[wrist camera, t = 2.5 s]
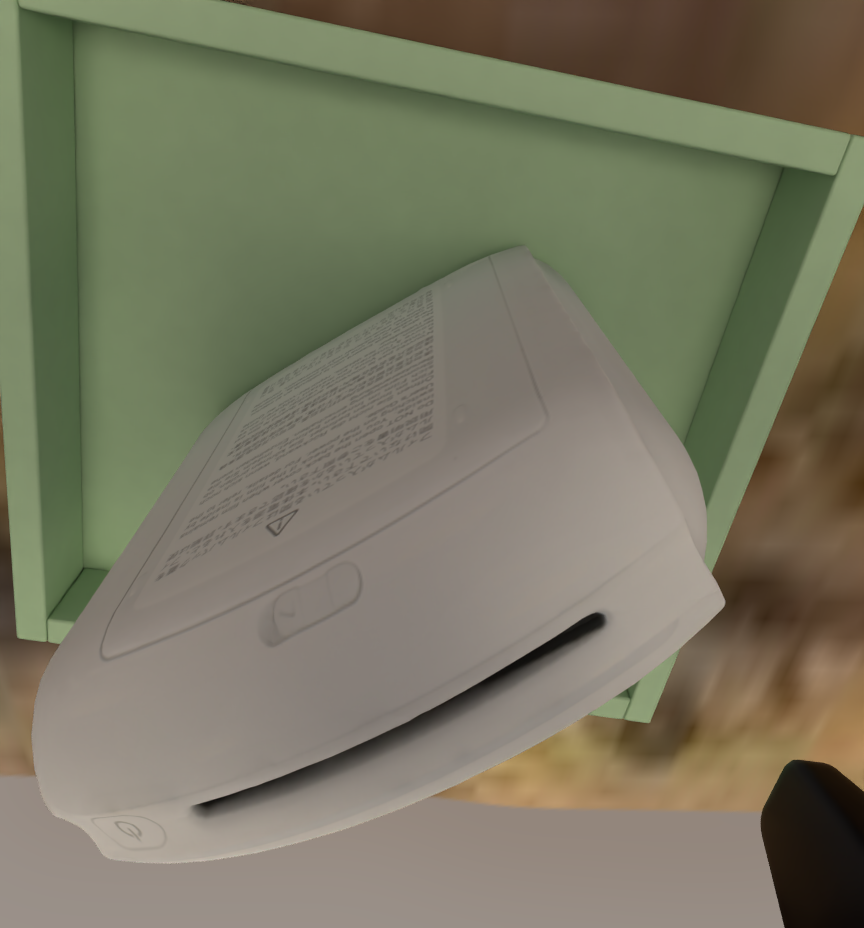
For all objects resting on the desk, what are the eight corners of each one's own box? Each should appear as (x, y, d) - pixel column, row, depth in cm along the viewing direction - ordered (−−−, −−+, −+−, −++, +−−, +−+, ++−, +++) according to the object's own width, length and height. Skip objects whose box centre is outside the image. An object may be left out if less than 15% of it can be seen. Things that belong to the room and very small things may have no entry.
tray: (821, 136, 17) (890, 142, 15) (625, 657, 24) (650, 724, 22) (42, -29, 16) (-33, -54, 13) (62, 576, 23) (15, 639, 20)
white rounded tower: (279, 536, 22) (126, 1002, 10) (185, 416, 20) (-116, 817, 9) (607, 362, 19) (857, 717, 8) (532, 212, 18) (718, 401, 7)
